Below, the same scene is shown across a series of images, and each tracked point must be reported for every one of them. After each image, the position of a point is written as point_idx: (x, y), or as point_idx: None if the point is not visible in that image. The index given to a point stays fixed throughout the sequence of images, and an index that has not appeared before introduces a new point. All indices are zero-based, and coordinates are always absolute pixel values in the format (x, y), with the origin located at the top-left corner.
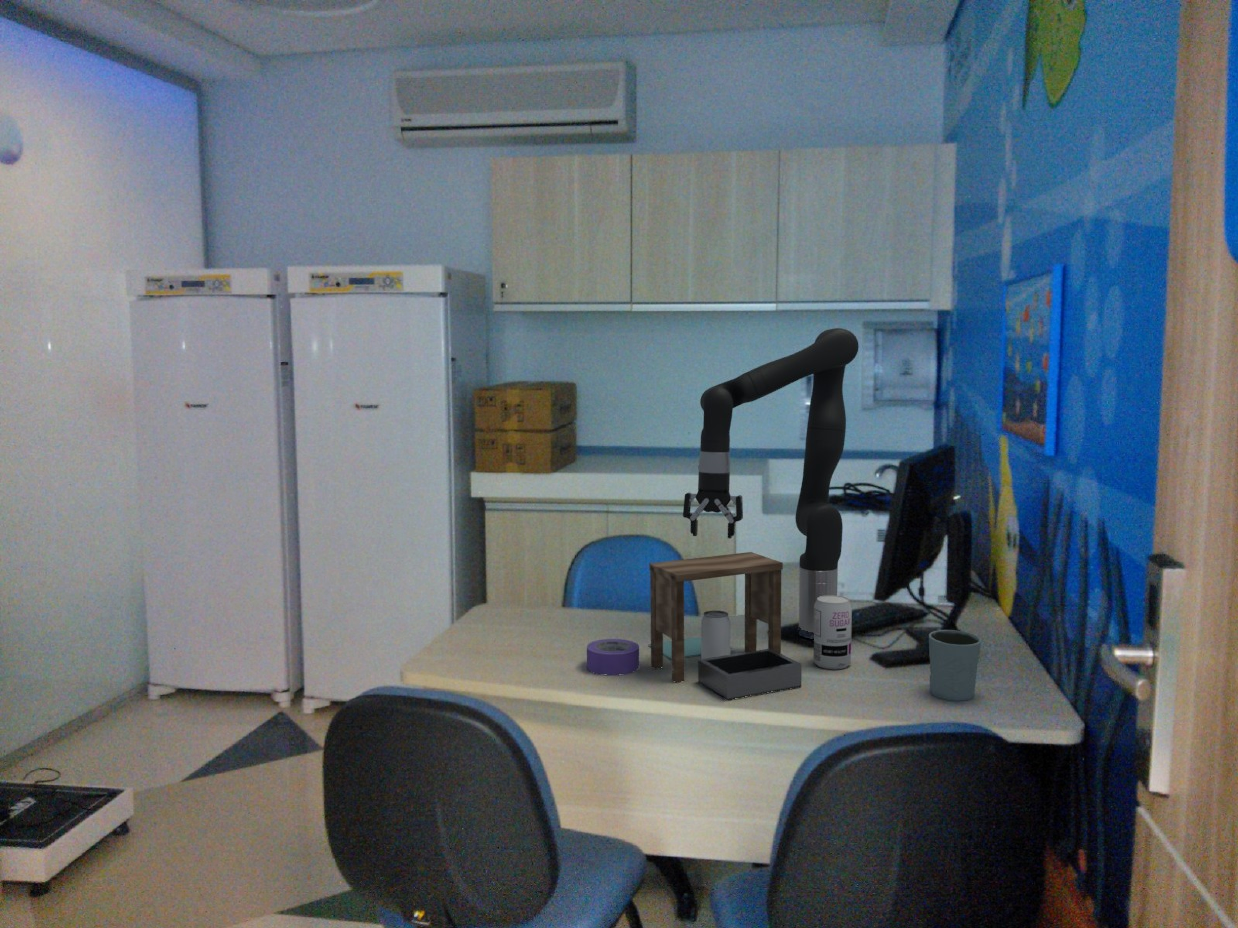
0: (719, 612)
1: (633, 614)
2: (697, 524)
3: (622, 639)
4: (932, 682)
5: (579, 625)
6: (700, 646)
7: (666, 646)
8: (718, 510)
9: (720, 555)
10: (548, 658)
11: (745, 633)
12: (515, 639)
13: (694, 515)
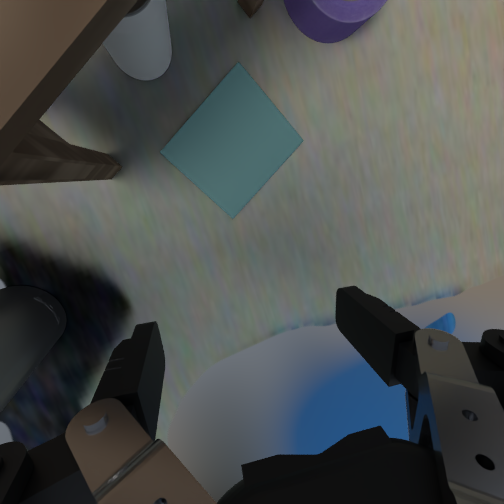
0: None
1: None
2: (370, 361)
3: (344, 20)
4: None
5: (427, 215)
6: (211, 159)
7: (270, 138)
8: (246, 495)
9: (91, 16)
10: (439, 9)
11: (108, 162)
12: (500, 107)
13: (446, 360)
